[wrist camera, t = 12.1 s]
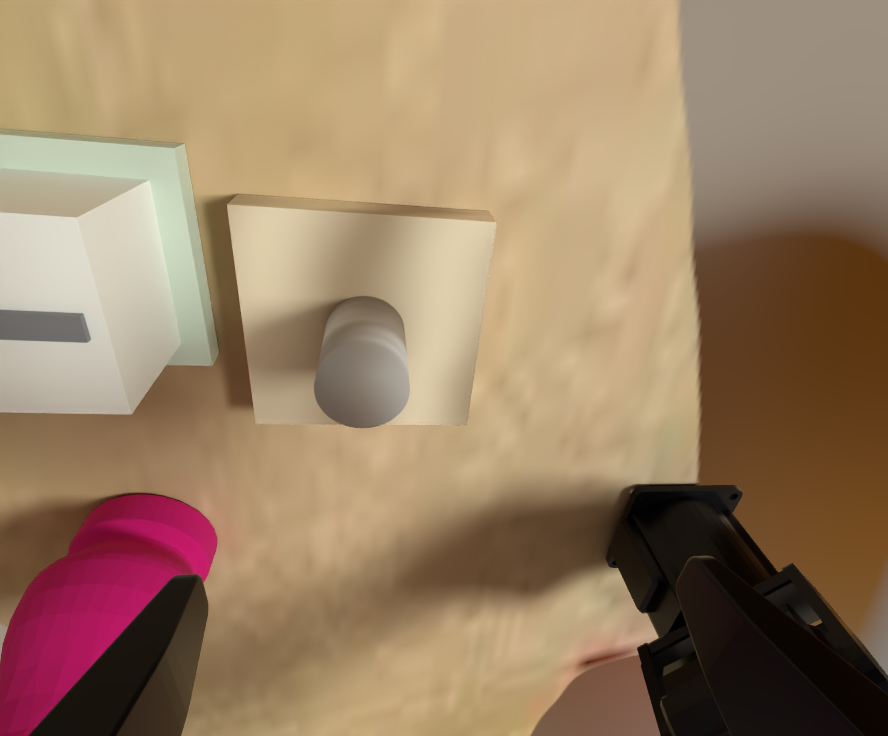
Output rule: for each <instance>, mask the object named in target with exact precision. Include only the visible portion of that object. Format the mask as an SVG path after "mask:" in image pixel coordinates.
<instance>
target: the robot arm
mask: <svg viewBox="0 0 888 736" xmlns="http://www.w3.org/2000/svg"><path fill="white" fill-rule="evenodd" d="M741 497H742V492H741V490H740V489H739V488H738V487H737V486H735V485H712V486H642V487H638V488H636V489H635V490H634V491H633V492H632V494H631V497H630V499H629V502H628V504H627V506H626V509H625V511H624V514H623V516H622V519H621V521H620V524H619V526H618V529H617V531H616V534H615V536H614V539H613V541H612V544H611V546H610V549H609V551H608V553H607V556H606V561H607V563H608V565H609V567H611V568H618V569H619V571H620V573H621V575H622V577H623V579H624V581H625V584H626V586H627V588H628V590H629V592H630V594H631V596H632V599H633V601H634V603H635V605H636V607H637V609H638V610H639V611H640V612H641V613H647V614H648V616H649V618H650V620H651V622H652V624H653V626H654V628H655V630H656V632H657V635H658V637H659V638H658V639H656V640H654V641H652V642H651V643H649V644H648V643H644V644H643V645H641V646H639V647H637V650H638V653H639V657H640V660H641V663H642V664H641V668H642V672H643V675H644V679H645V682H646V686H647V689H648V693H649V696H650V700H651V703H652V707H653V710H654V714H655V717H656V721H657V724H658V728H659V731H660V735H661V736H888V675H887V674H886V673H885V671H884V670H883V669H882V667H881V666H880V665H879V664H878V662H877V661H876V660H875V658H874V657H873V656H872V655H871V653H870V652H869V651H868V649H867V648H866V647H865V646H864V644H863V643H862V642H861V641H860V639H859V638H858V637H857V636H856V635H855V634H854V632H853V631H852V630H851V629H850V627H848V625H847V624H846V623H845V621H844V620H843V619H842V618H841V617H840V616H839V614H838V613H837V612H836V611H835V610H834V608H832V606H831V605H830V604H829V603H828V601H827V600H826V599H825V598H824V597H823V596H822V594H821V593H820V592H819V591H818V590H817V589H816V588H815V587H814V586H813V585H812V584H811V583H810V582H809V580H808V579H807V578H806V577H805V576H804V575H803V574H802V573H801V572H800V571H799V569H798V568H797V567H796V566H795V565H794V564H793V563H791V564H789V565H787V566H786V567H783V568H782V569H783V571H781V572H779V573H778V571H776V569H775V568H774V566H773V565H772V564H771V563H770V561H769V560H768V559H767V557H766V556H765V555H764V554H763V552H762V551H761V550H760V548H759V547H758V546H757V545H756V543H755V542H754V541H753V539H752V538H751V537H750V536H749V534H748V533H747V532H746V530H745V529H744V528H743V527H742V525H741V524H740V523H739V521H738V520H737V519H736V518H735V516H734V515H733V514H732V513H733V511H734V509H735V508H736V506H737V504H738V502H739V501H740V499H741ZM207 617H208V600H207V596H206V592H205V588H204V584H203V580H202V578H201V576H200V575H198V574H183V575H176V576H174V577H172V578H171V579H170V580H169V581H168V582H167V583H166V584H165V585H164V586H163V587H162V588H161V590H160V591H159V592H158V593H157V594H156V595H155V596H154V597H153V598H152V600H151V601H150V602H149V603H148V604H147V605H146V606H145V607H144V608H143V609H142V611H141V612H140V613H139V614H138V615H137V616H136V617H135V618H134V619H133V620H132V622H131V623H130V624H129V625H128V626H127V627H126V628H125V629H124V630H123V631H122V633H121V634H120V635H119V636H118V637H117V638H116V639H115V640H114V641H113V642H112V644H111V645H110V646H109V647H108V648H107V649H106V650H105V651H104V652H103V654H102V655H101V656H100V657H99V658H98V659H97V660H96V661H95V662H94V663H93V665H92V666H91V667H90V668H89V669H88V670H87V671H86V672H85V673H84V674H83V676H82V677H81V678H80V679H79V680H78V681H77V682H76V683H75V684H74V685H73V687H72V688H71V689H70V690H69V691H68V692H67V693H66V694H65V695H64V696H63V698H62V699H61V700H60V701H59V702H58V703H57V704H56V705H55V706H54V708H53V709H52V710H51V711H50V712H49V713H48V714H47V715H46V716H45V717H44V719H43V720H42V721H41V722H40V723H39V724H38V725H37V726H36V727H35V728H34V730H33V731H32V732H31V733H30V734H29V735H28V736H181V734H182V731H183V727H184V724H185V720H186V717H187V713H188V709H189V704H190V700H191V695H192V690H193V685H194V680H195V676H196V671H197V666H198V661H199V656H200V651H201V646H202V642H203V637H204V632H205V627H206V622H207ZM819 619H821V621H822V622H823V623H821V624H819V625H817V626H812V625H809V624H811V623H813V622H815V621H817V620H819Z"/></svg>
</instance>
